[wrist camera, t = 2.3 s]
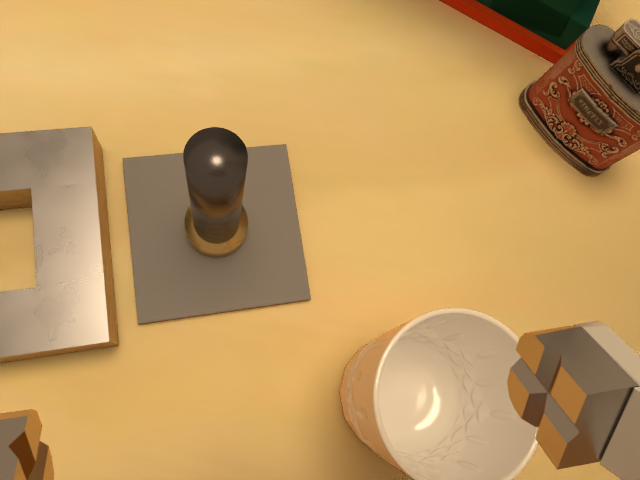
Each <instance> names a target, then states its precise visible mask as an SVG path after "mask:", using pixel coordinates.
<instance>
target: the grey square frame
mask: <svg viewBox="0 0 640 480" xmlns="http://www.w3.org/2000/svg"><path fill="white" fill-rule="evenodd" d="M22 207H32V212H33V230H34V247H35V264H36V282H37V287H35V288H28V289H20V290H12V291H4V292H0V363H3V362H10V361H17V360H23V359H30V358H37V357H43V356H50V355H57V354H63V353H70V352H77V351H83V350H90V349H97V348H103V347H110V346H117V345H119V340H118V328H117V317H116V305H115V293H114V282H113V270H112V259H111V247H110V236H109V224H108V213H107V201H106V190H105V178H104V167H103V155H102V147H101V145H100V143H99V141H98V139H97V137H96V135H95V133H94V131H93V129H92V127H80V128H67V129H53V130H40V131H26V132H13V133H0V210H2V209H12V208H22Z"/></svg>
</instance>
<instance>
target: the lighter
mask: <svg viewBox="0 0 640 480" xmlns="http://www.w3.org/2000/svg"><path fill="white" fill-rule="evenodd" d="M519 106H520V108H521V110H522V112H523V113H524V115H525V116H526V117H527V119H528V120H529V122H530V123H531V125H532V126H533V128H534V129H535V130H536V131H537V132H538V134H539V135H540V136H541V137H542V138H543V139H544V141H545V142H546V143H547V144H548V145H549V146H550V147H551V148H552V149H553V150H554V151H555V152H556V153H557V154H558V155H559V156H560V157H562V158H563V159H564V160H565V161H566V162H567V163H569V164H570V165H571V166H573V167H574V168H575V169H577V170H578V171H579V172H581V173H582V174H584V175H586V176H591V177H593V176H597V175H599V174H601V173H603V172H605V171H606V170H608V169H609V168H610V167H611V165H612V164H614V163H616V162H617V161H619V160H621V159H623V158H625V157H626V156H628V155H630V154H632V153H634V152H635V151H637V150H639V149H640V23H639V22H638V21H637V20H635V19H630V20H628V21H627V22H626V23H625V24H623V25H622V26H621V27H620V28H619V29H618V30H617V31H616V32H615V31H613V30H612V29H611V28H609V27H607V26H604V25H594V26H592V27H590V28H588V29H587V30H586V31H585V32H584V33H583V34H582V35H581V36H580V37H579V38H578V39H577V41H576V44H575V45H574V46H573V47H572V48H571V49H570V50H569V51H568V52H567V53H566V54H565V55H564V56H563V57H562V58H561V59H560V60H558V61H557V62H556V63H555V64H554V65H553V66H552V67H551V68H550V69H549V70H548V71H547V72H546V73H545V74H544V75H543V76H542V77H540V78H539V79H538V80H537V81H534V82H533V83H531V84H529V85H528V86H527V87H526V88H525V89H524V90H523V91H522V93H521V94H520V97H519Z"/></svg>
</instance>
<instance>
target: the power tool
mask: <svg viewBox="0 0 640 480" xmlns="http://www.w3.org/2000/svg"><path fill="white" fill-rule="evenodd" d="M440 1H442V2H443V3H445V4H447V5H449V6H451V7H452V8H454V9H456V10H458V11H460V12H461V13H463V14H465V15H467V16H469V17H470V18H472V19H474V20H476V21H478V22H479V23H481V24H483V25H485V26H487V27H489V28H490V29H492V30H494V31H496V32H498V33H499V34H501V35H503V36H505V37H507V38H508V39H510V40H512V41H514V42H516V43H517V44H519V45H521V46H523V47H525V48H527V49H528V50H530V51H532V52H534V53H536V54H537V55H539V56H541V57H543V58H545V59H546V60H548V61H550V62H552V63H554V64H555V63H556V62H557V61H558V60H560V59H561V58H562V57H563V56H564V55H565V54H566V53H567V52H568V51H569V50H570V49H571V48H572V47H573V46H574V45H575V44H576V41H577V39H578V38H579V37H580V36H581V35H582V34H583V33H584V32H585V31H586V30H587V29H588V28H589V26H590V24H591V21H592V19H593V16H594V14H595V11H596V9H597V6H598V4H599V1H600V0H440Z"/></svg>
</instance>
